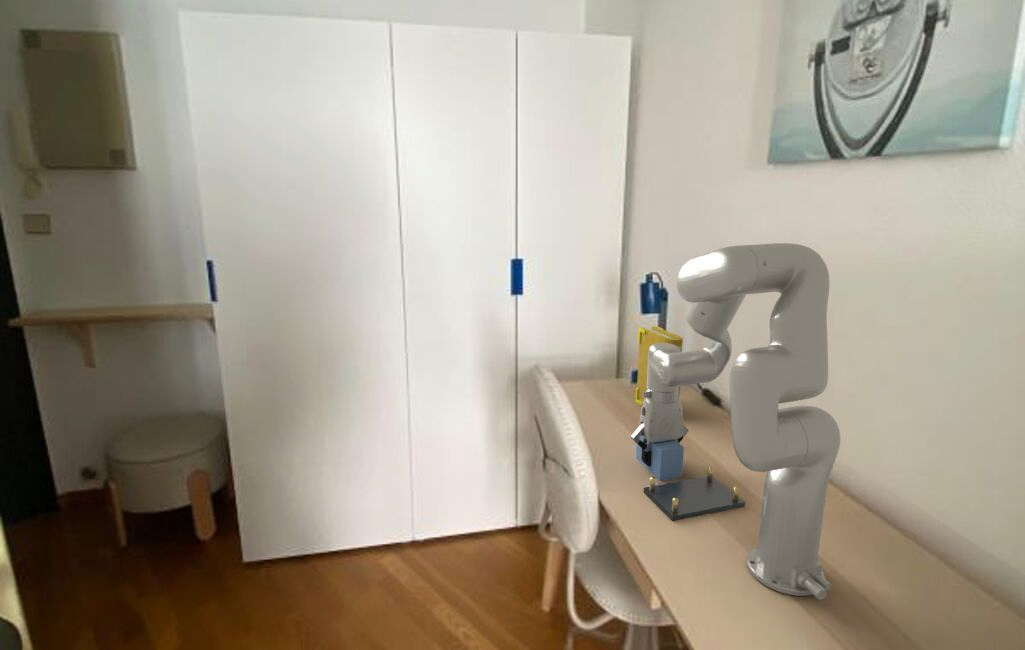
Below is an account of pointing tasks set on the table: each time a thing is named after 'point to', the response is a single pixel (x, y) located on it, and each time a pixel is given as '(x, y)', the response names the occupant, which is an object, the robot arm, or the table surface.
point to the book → (645, 341)
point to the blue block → (664, 459)
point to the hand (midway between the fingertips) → (658, 461)
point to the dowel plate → (693, 497)
